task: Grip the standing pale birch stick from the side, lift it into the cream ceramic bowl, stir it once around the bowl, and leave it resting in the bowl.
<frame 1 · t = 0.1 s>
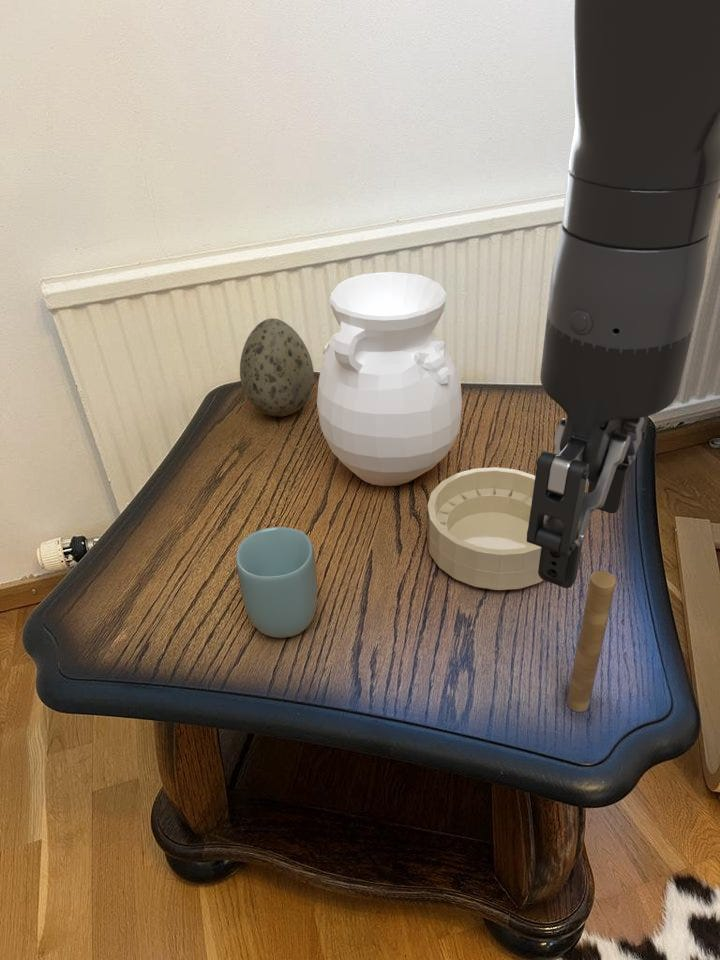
hand: (580, 541, 50), 26 cm above the table, tool pointing down, fingers open, 8 cm apart
cup: (284, 622, 81), on the table
decorative egg: (281, 413, 116), on the table
white vase: (391, 467, 103), on the table
bowl: (494, 547, 89), on the table
stick: (577, 703, 71), on the table
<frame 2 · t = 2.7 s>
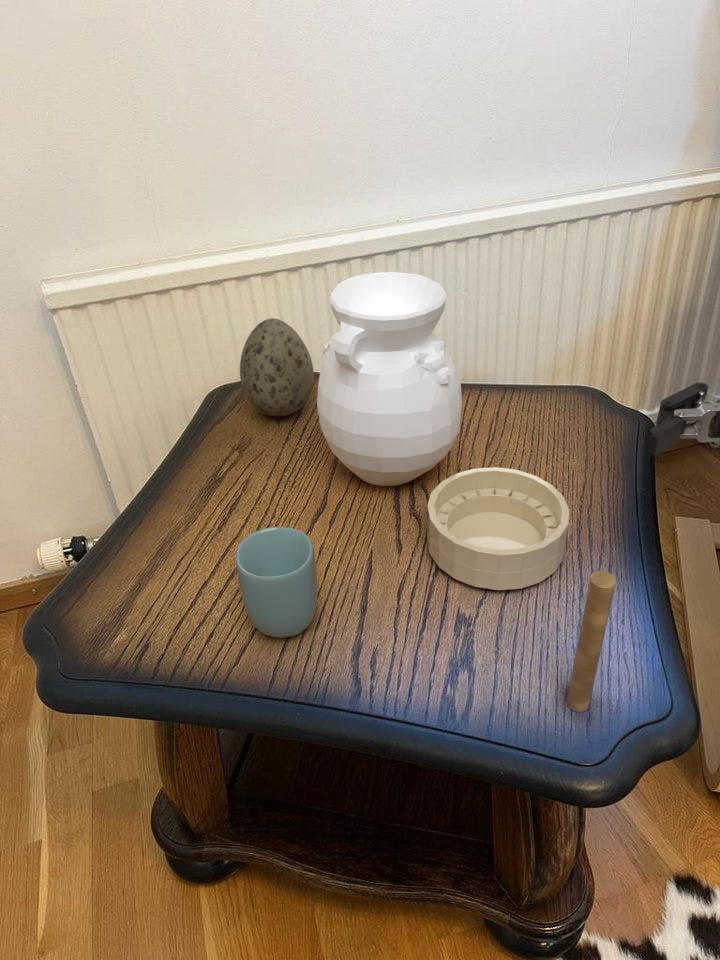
hand: (697, 466, 63), 22 cm above the table, tool horizontal, fingers open, 8 cm apart
nothing on the table moved.
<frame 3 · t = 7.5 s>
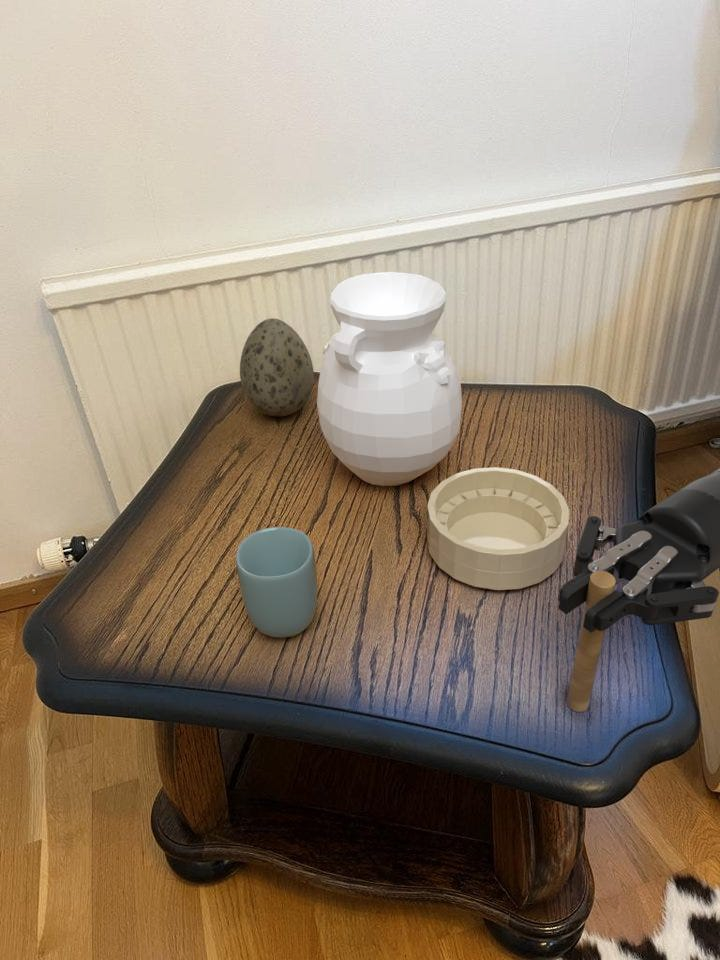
hand: (575, 613, 61), 14 cm above the table, tool horizontal, fingers closed on stick, 2 cm apart
stick: (577, 703, 71), on the table, touching gripper
everything else where it was.
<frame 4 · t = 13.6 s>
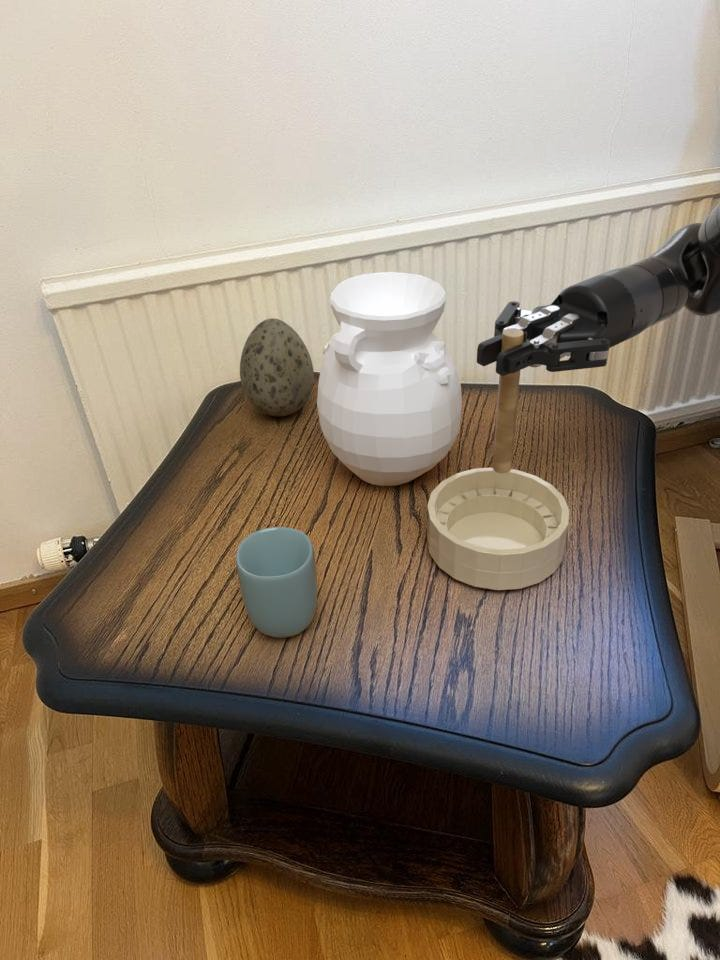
hand: (489, 360, 72), 25 cm above the table, tool horizontal, fingers closed on stick
stick: (501, 468, 82), point 11 cm above the table, touching gripper
everything else where it was.
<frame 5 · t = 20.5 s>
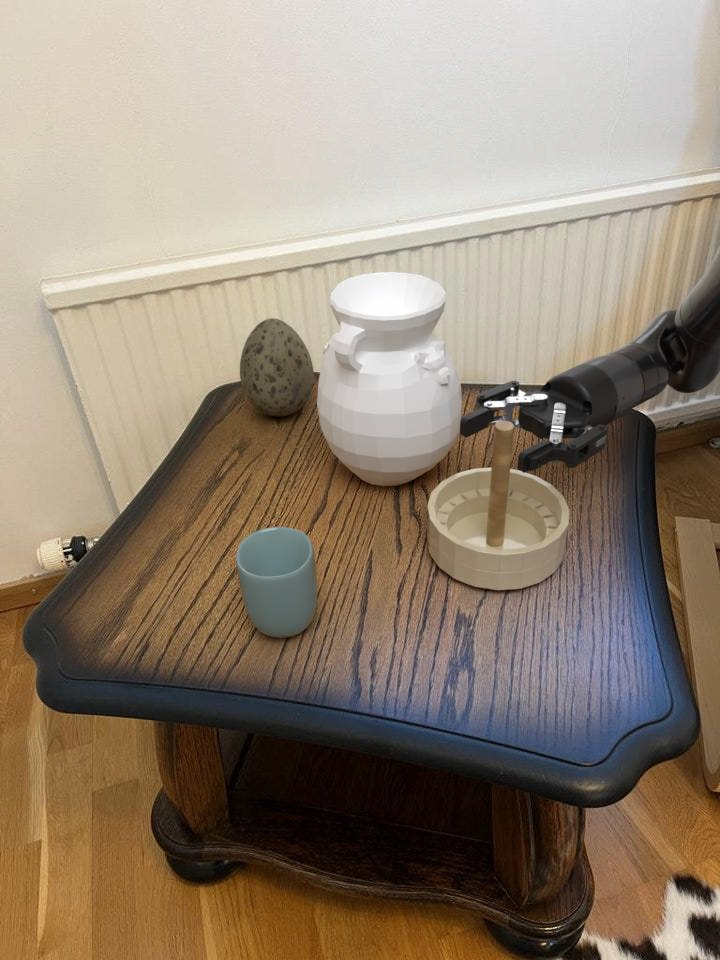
hand: (490, 445, 79), 15 cm above the table, tool horizontal, fingers open, 8 cm apart
stick: (494, 541, 88), point 1 cm above the table, touching bowl
everything else where it was.
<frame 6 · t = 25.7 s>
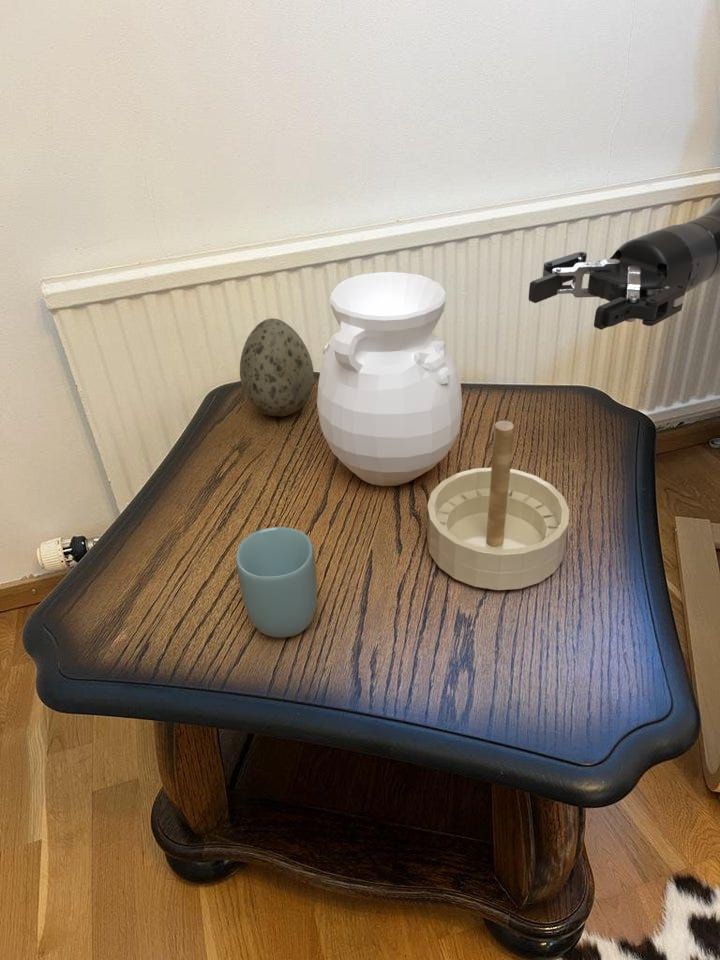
hand: (563, 305, 75), 28 cm above the table, tool horizontal, fingers open, 8 cm apart
nothing on the table moved.
at the end: stick inside the target area in the bowl (0.1 cm from its centre), point 0.8 cm above the bowl's base; stick moved 22.8 cm from its start; the gripper is holding nothing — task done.
